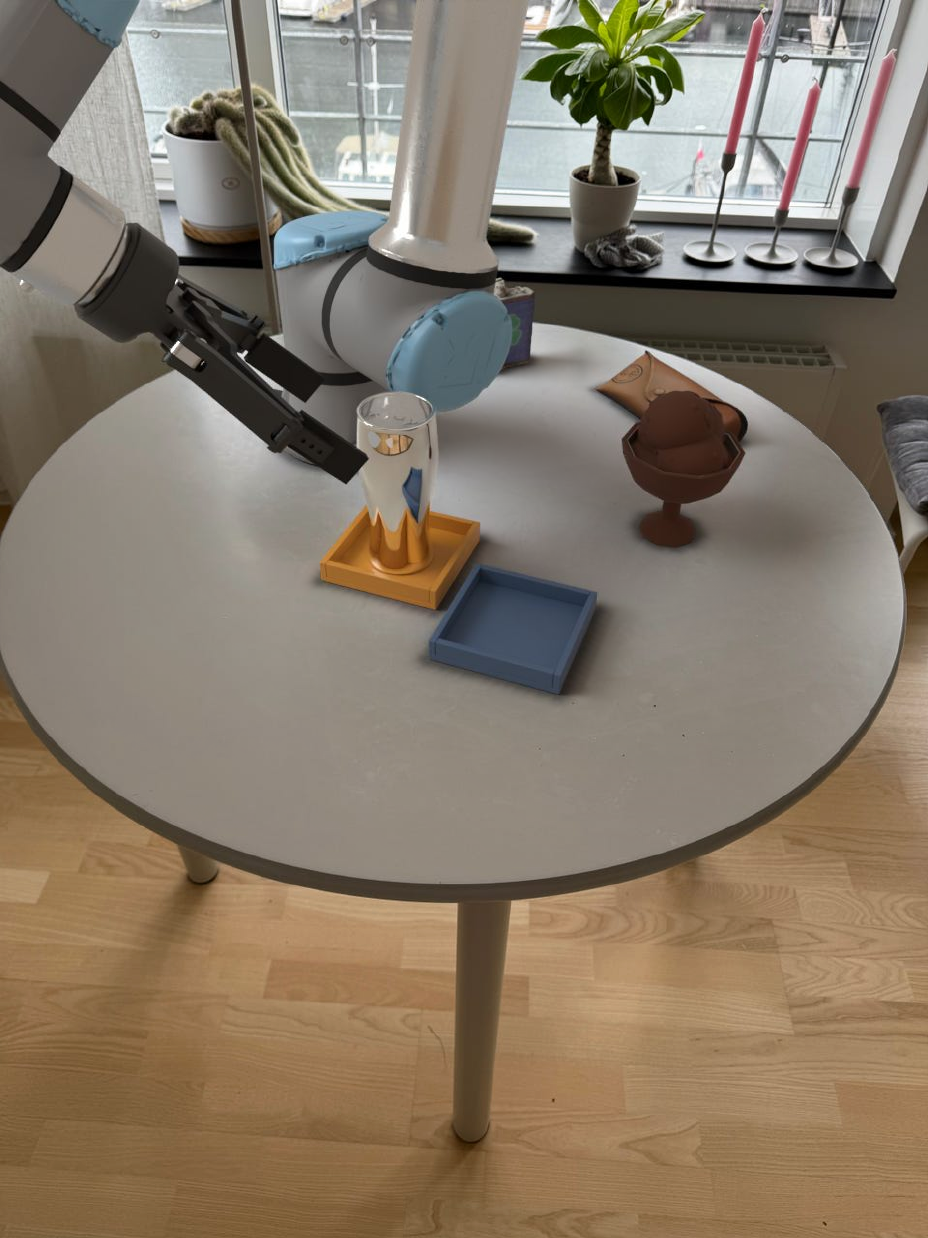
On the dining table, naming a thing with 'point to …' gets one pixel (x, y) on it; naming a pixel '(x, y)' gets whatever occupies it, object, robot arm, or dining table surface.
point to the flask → (517, 320)
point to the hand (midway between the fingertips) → (334, 427)
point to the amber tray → (418, 588)
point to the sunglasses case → (664, 391)
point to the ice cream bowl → (679, 461)
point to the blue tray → (514, 627)
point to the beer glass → (398, 478)
